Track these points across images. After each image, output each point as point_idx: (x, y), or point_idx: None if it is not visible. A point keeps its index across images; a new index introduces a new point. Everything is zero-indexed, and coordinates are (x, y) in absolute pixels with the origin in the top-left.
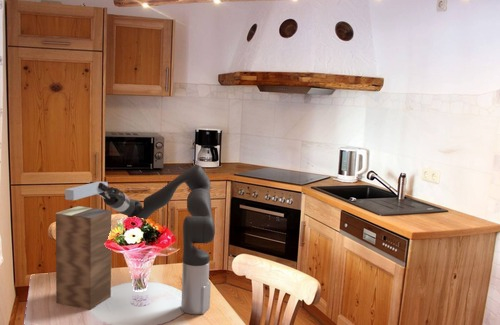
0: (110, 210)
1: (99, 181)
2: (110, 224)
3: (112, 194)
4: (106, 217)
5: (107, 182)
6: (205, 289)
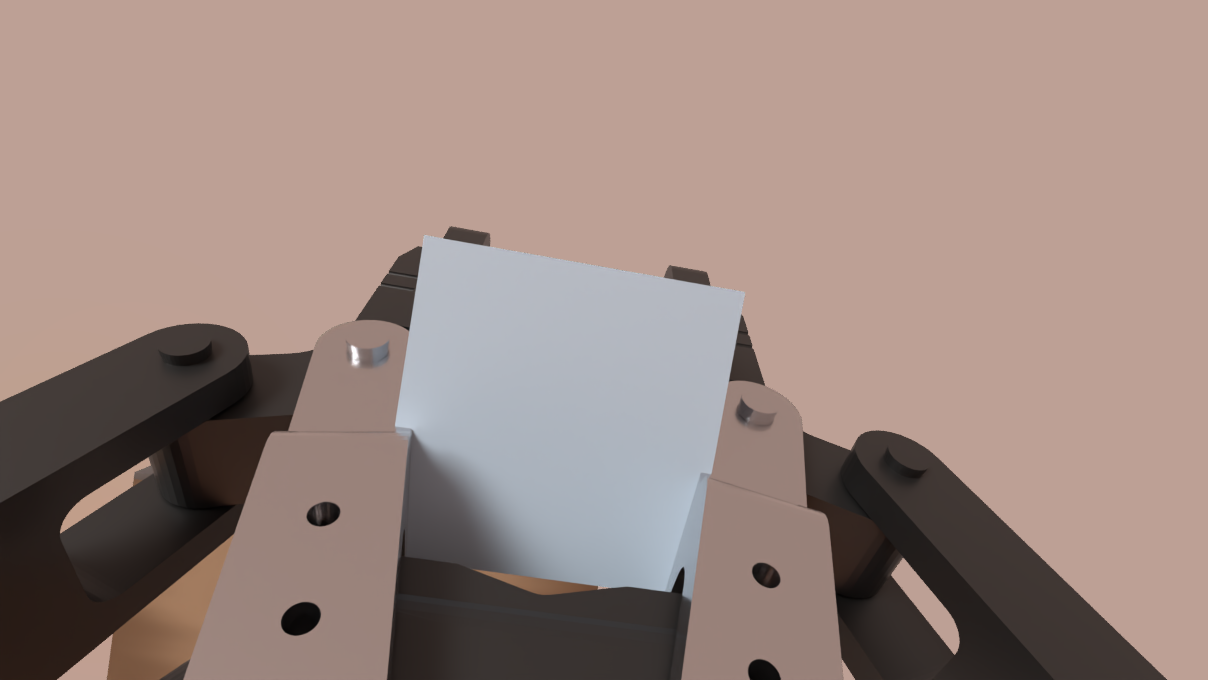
0: (148, 472)
1: (722, 290)
2: (124, 629)
3: (147, 571)
4: None
5: (423, 245)
6: None
